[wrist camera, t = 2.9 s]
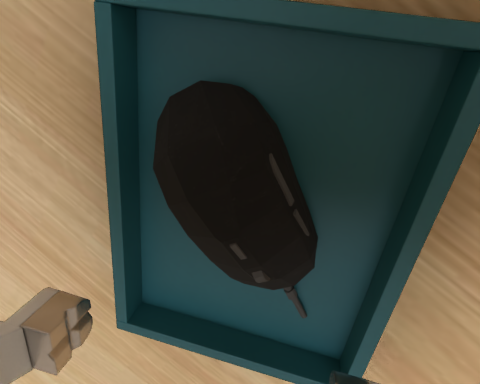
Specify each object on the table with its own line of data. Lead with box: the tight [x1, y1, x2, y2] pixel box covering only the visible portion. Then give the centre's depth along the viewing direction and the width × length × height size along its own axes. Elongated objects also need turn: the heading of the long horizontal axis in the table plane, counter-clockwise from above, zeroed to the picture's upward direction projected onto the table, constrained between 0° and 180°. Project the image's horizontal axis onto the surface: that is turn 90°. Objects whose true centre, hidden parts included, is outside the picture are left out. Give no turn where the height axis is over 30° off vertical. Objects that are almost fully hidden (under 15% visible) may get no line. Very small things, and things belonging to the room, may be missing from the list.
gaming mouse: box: [153, 80, 318, 318], centre depth 16 cm, size 6×15×4 cm, turn 26°
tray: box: [94, 0, 480, 384], centre depth 17 cm, size 20×16×2 cm
